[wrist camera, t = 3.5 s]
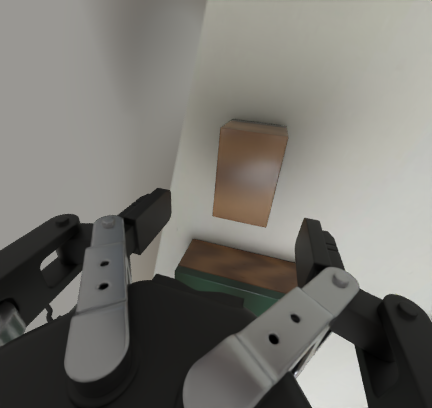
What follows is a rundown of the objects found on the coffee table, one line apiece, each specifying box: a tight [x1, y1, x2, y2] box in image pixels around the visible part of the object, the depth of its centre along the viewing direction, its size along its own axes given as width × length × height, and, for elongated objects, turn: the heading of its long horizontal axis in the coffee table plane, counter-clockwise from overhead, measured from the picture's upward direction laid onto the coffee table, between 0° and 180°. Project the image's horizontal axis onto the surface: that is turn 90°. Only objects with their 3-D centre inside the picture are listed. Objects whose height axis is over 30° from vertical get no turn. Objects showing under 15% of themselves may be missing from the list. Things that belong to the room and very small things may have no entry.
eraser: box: [213, 119, 288, 228], centre depth 20 cm, size 8×5×5 cm, turn 175°
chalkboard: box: [175, 239, 298, 317], centre depth 31 cm, size 14×26×6 cm, turn 175°
